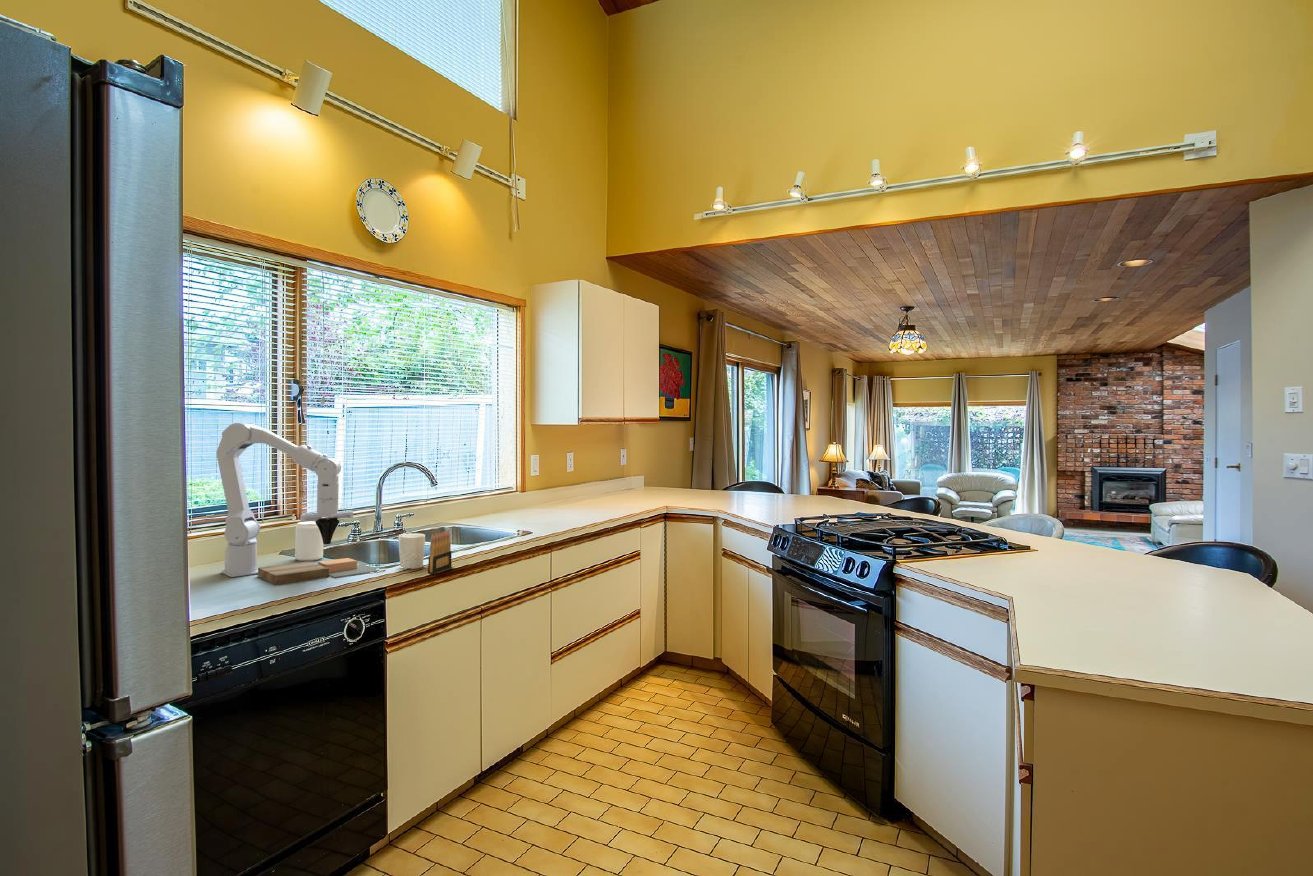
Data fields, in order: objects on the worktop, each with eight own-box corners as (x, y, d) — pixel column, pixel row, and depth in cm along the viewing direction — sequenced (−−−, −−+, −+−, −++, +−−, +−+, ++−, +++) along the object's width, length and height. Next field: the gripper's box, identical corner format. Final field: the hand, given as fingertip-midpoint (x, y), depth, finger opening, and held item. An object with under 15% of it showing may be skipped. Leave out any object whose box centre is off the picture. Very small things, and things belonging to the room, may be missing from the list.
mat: (309, 568, 201) (309, 567, 201) (358, 562, 212) (358, 560, 212) (334, 578, 189) (334, 577, 189) (385, 570, 200) (385, 569, 200)
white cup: (398, 570, 201) (399, 537, 201) (397, 565, 208) (398, 534, 208) (425, 568, 205) (426, 536, 204) (423, 563, 212) (424, 532, 212)
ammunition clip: (433, 573, 197) (434, 534, 197) (427, 573, 198) (428, 533, 198) (451, 566, 208) (452, 529, 208) (446, 566, 208) (447, 528, 208)
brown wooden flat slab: (258, 576, 189) (258, 567, 189) (309, 569, 200) (309, 561, 200) (275, 584, 180) (276, 575, 180) (328, 576, 190) (328, 568, 190)
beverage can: (303, 562, 209) (304, 525, 209) (289, 559, 214) (290, 522, 213) (327, 559, 216) (328, 522, 216) (314, 556, 220) (315, 520, 220)
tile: (318, 569, 198) (318, 561, 198) (348, 565, 205) (348, 557, 204) (326, 572, 194) (326, 564, 194) (356, 568, 201) (356, 560, 201)
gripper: (307, 501, 189) (306, 548, 189) (357, 498, 200) (357, 542, 200) (297, 499, 193) (296, 545, 193) (347, 496, 204) (346, 539, 204)
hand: (326, 543), depth 197 cm, fingers closed
